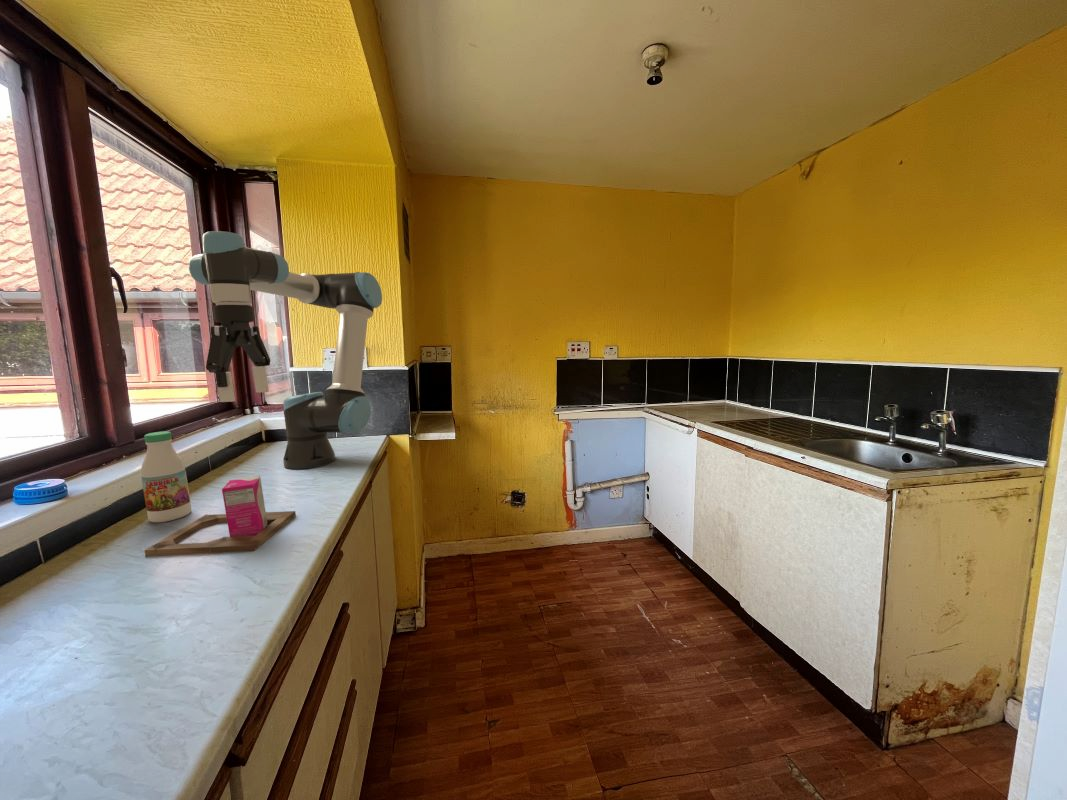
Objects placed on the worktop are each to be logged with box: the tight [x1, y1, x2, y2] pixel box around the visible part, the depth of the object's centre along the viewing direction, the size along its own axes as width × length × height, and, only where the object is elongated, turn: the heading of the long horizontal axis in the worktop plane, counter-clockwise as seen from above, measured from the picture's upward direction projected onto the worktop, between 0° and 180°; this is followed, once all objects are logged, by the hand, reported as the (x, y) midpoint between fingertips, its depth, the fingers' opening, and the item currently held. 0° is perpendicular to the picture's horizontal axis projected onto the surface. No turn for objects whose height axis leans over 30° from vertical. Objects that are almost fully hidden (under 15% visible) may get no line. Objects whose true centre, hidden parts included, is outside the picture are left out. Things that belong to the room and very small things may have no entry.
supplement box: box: [221, 475, 268, 537], centre depth 87 cm, size 6×6×12 cm
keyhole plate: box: [144, 510, 297, 557], centre depth 88 cm, size 16×20×1 cm
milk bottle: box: [140, 431, 192, 523], centre depth 96 cm, size 8×8×20 cm
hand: (246, 396), depth 98 cm, fingers open, 13 cm apart
